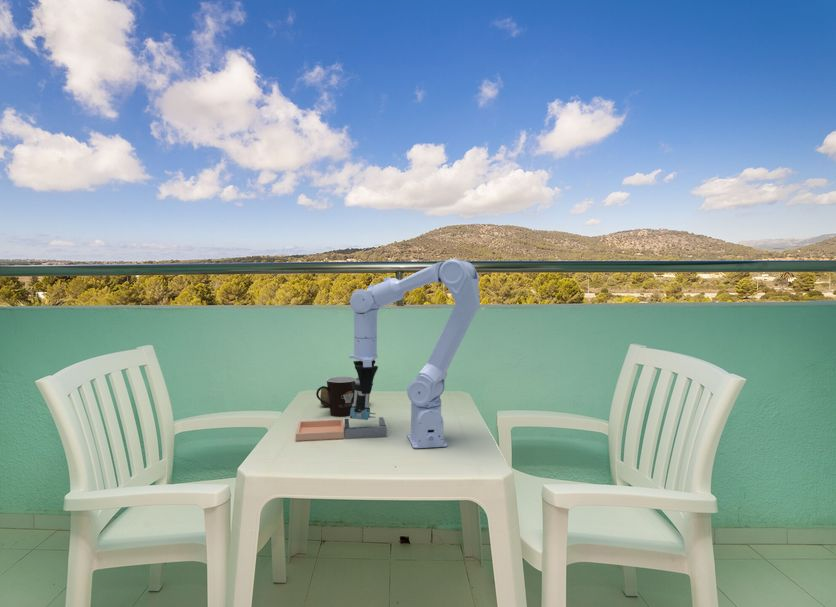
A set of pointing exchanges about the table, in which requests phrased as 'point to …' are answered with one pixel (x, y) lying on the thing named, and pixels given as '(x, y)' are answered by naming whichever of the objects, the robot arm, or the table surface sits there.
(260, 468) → the table surface
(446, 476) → the table surface
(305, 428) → the tray
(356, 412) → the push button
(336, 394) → the coffee mug
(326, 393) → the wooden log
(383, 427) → the bracket
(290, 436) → the table surface
